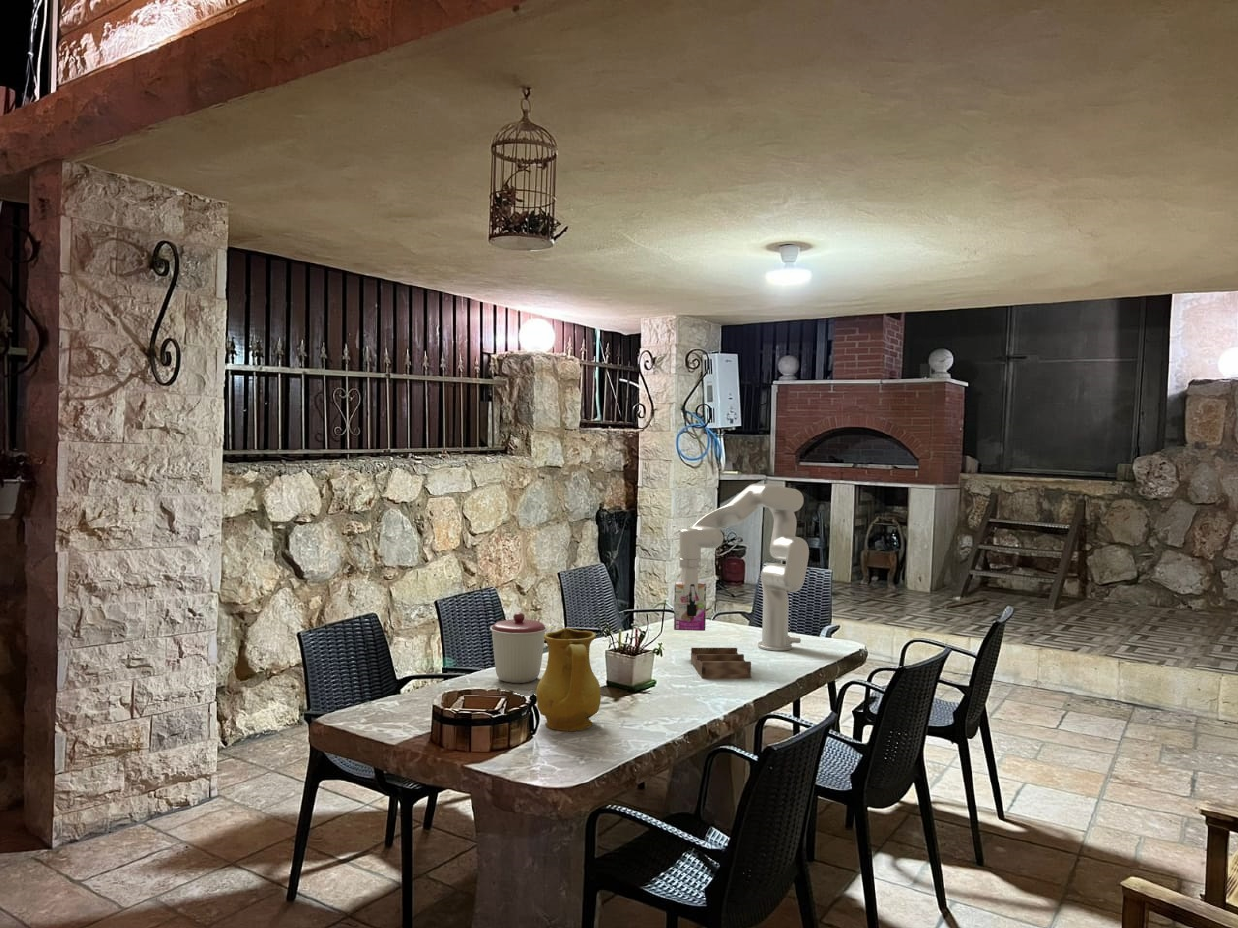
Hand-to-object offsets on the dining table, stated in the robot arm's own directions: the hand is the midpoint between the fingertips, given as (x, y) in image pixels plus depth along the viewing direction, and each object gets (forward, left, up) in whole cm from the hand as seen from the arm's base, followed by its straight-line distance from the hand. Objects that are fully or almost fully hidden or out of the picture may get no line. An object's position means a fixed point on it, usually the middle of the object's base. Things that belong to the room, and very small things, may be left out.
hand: (690, 613), depth 313 cm
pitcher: (+46, +75, -16) cm, 89 cm away
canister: (+60, +28, -16) cm, 68 cm away
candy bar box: (0, 0, -6) cm, 6 cm away
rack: (-7, +17, -16) cm, 24 cm away
